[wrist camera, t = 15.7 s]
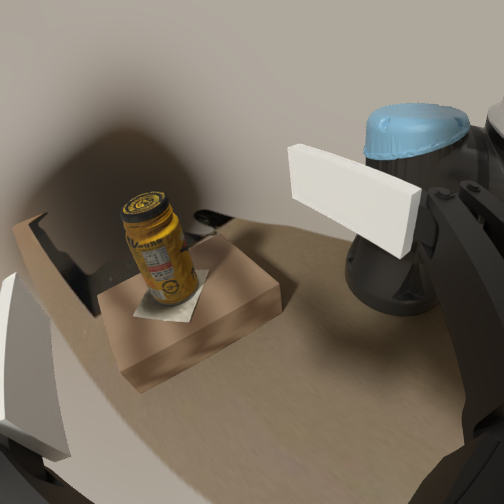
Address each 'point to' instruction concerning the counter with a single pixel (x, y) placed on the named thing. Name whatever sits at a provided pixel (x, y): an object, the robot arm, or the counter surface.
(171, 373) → the stand
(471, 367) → the robot arm
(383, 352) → the counter surface
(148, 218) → the condiment
